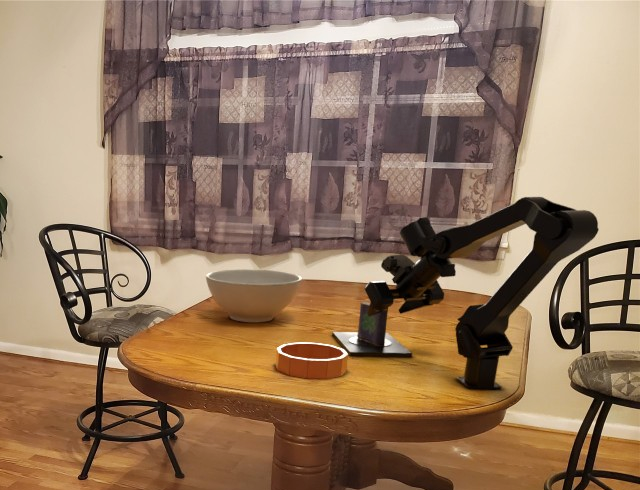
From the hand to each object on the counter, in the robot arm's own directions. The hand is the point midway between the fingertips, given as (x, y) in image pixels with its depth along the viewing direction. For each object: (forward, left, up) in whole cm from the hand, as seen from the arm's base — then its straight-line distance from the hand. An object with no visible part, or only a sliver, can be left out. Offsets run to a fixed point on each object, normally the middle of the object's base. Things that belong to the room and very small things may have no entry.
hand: (384, 313), depth 162 cm
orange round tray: (-18, +20, -9) cm, 28 cm away
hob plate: (+3, +2, -9) cm, 10 cm away
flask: (+3, +1, -8) cm, 9 cm away
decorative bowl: (+33, +28, -9) cm, 44 cm away
